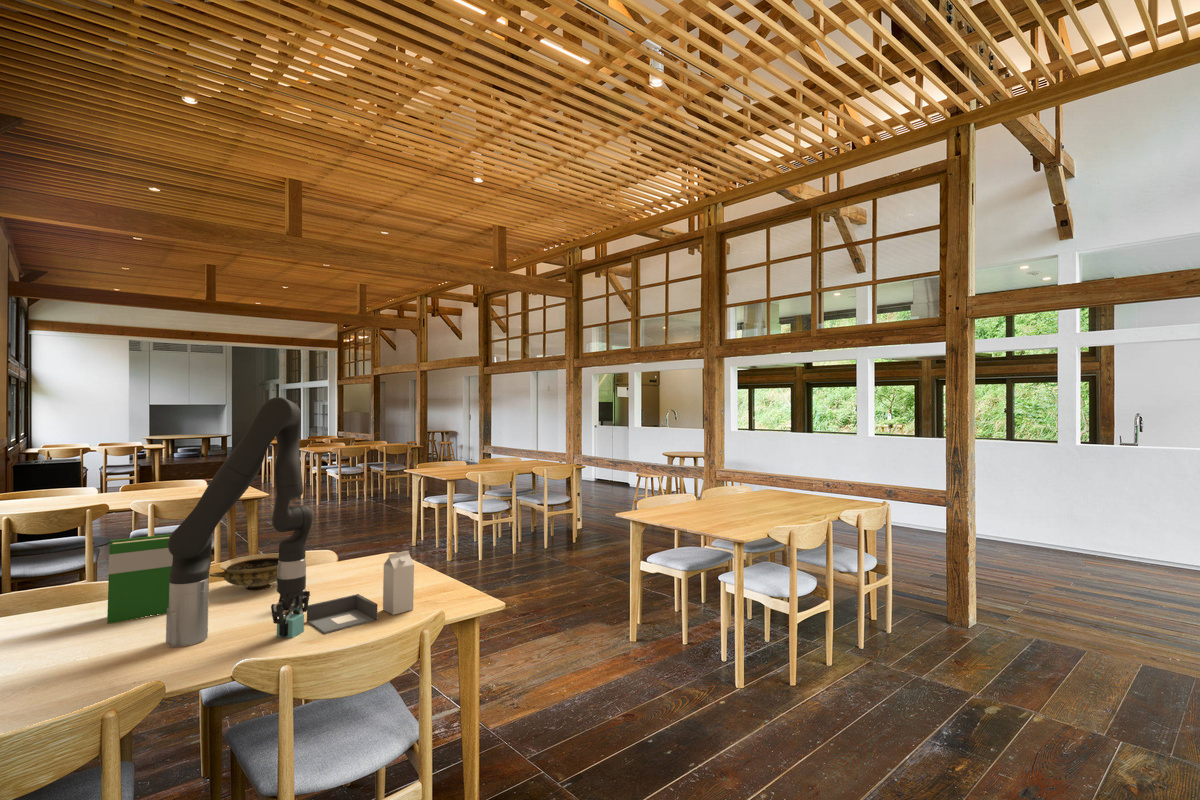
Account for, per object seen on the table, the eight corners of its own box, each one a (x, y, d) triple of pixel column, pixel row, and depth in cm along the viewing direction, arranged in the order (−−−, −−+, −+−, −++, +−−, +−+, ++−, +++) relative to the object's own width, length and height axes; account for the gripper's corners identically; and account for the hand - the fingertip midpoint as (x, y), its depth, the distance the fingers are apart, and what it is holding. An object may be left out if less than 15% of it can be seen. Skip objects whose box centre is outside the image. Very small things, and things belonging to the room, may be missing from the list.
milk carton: (382, 610, 189) (383, 552, 189) (402, 604, 194) (403, 548, 194) (393, 615, 184) (394, 556, 184) (413, 610, 189) (414, 552, 190)
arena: (324, 634, 168) (324, 616, 168) (306, 621, 178) (307, 605, 178) (377, 620, 180) (377, 604, 180) (357, 609, 189) (358, 593, 189)
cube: (292, 638, 165) (292, 620, 165) (276, 636, 166) (276, 619, 166) (303, 631, 170) (304, 614, 170) (288, 630, 171) (288, 613, 171)
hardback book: (107, 623, 174) (109, 544, 175) (107, 616, 180) (109, 540, 180) (178, 611, 186) (180, 537, 186) (177, 605, 191) (179, 533, 192)
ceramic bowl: (296, 573, 230) (297, 548, 230) (310, 588, 211) (311, 560, 211) (205, 587, 211) (206, 560, 211) (212, 604, 192) (213, 574, 192)
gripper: (286, 582, 161) (285, 643, 160) (318, 568, 175) (317, 624, 174) (262, 580, 162) (261, 641, 161) (296, 567, 176) (295, 622, 176)
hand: (290, 632), depth 168 cm, fingers closed on cube, 5 cm apart
